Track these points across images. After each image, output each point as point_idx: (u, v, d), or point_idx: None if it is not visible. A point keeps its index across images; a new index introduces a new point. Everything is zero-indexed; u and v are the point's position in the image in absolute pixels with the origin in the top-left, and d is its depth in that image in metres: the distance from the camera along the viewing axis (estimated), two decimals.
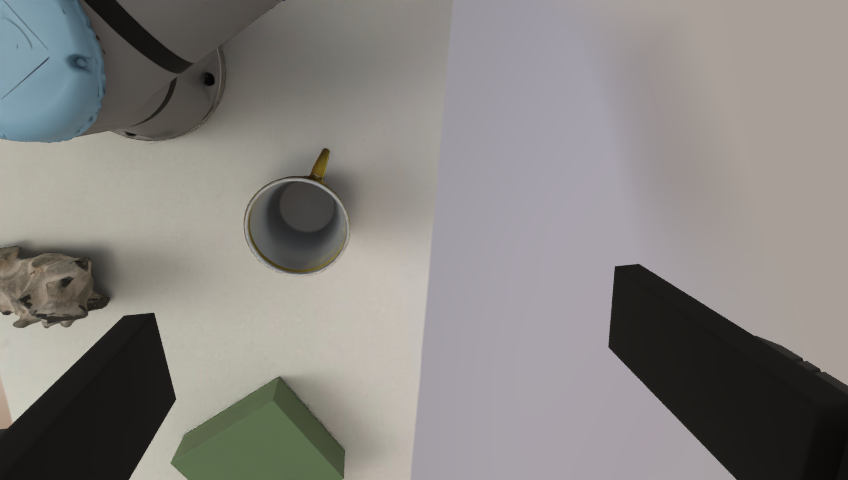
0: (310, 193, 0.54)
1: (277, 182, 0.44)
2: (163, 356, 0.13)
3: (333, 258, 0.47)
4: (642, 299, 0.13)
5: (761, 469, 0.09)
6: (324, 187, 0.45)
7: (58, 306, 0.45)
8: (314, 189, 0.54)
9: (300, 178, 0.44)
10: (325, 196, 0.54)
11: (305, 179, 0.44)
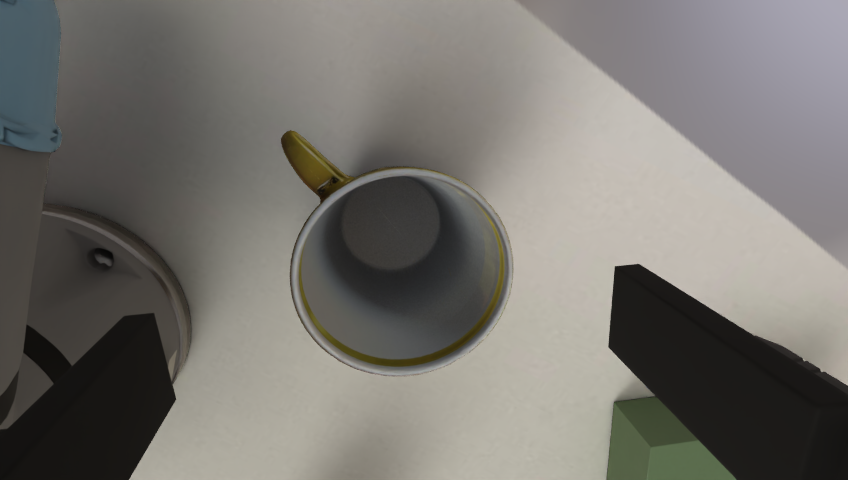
0: (373, 206, 0.29)
1: (295, 266, 0.20)
2: (163, 356, 0.13)
3: (501, 247, 0.22)
4: (642, 299, 0.13)
5: (761, 469, 0.09)
6: (352, 184, 0.19)
7: None
8: (370, 196, 0.29)
9: (309, 219, 0.20)
10: (391, 186, 0.29)
11: (316, 211, 0.20)
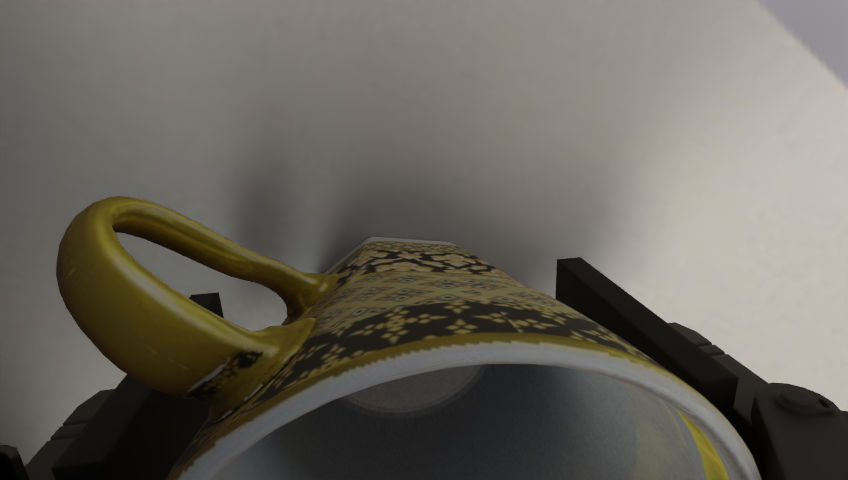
0: None
1: None
2: None
3: None
4: (577, 289, 0.13)
5: None
6: (294, 404, 0.05)
7: None
8: None
9: None
10: None
11: None
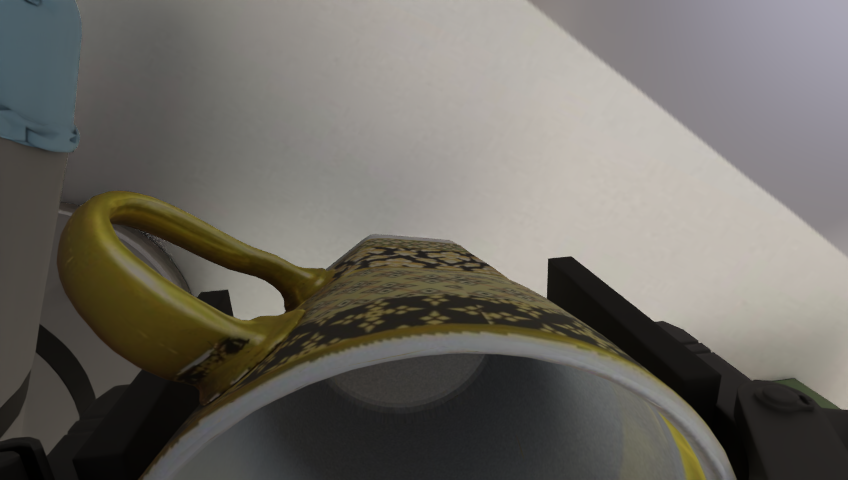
0: None
1: None
2: None
3: None
4: (567, 288, 0.13)
5: None
6: (272, 387, 0.06)
7: None
8: None
9: None
10: None
11: (156, 470, 0.06)
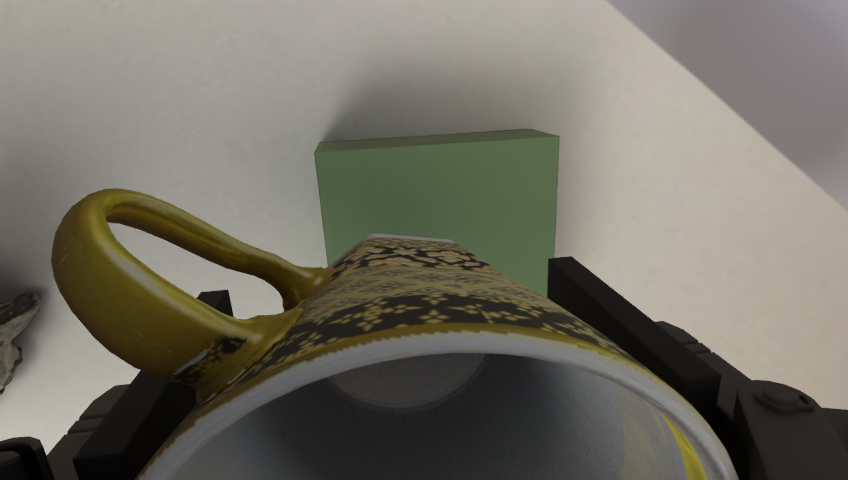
0: None
1: None
2: None
3: None
4: (568, 288, 0.13)
5: None
6: (269, 387, 0.06)
7: None
8: None
9: None
10: None
11: (151, 471, 0.06)
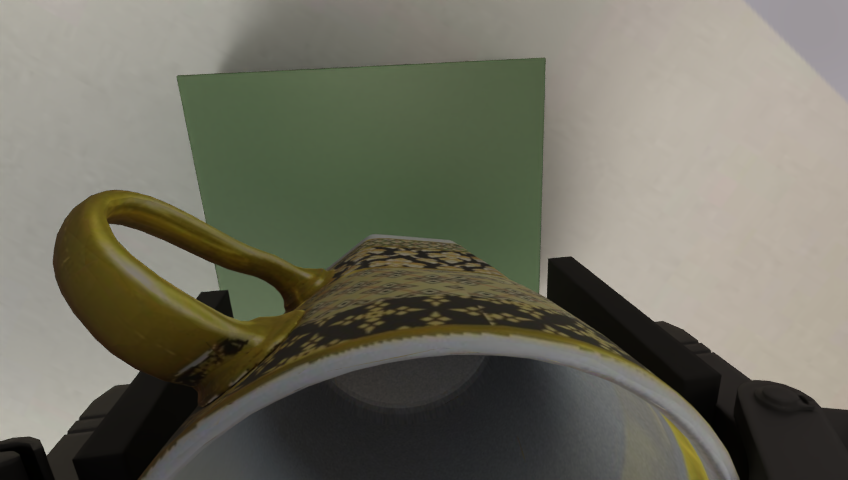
0: None
1: None
2: None
3: None
4: (567, 288, 0.13)
5: None
6: (271, 389, 0.06)
7: None
8: None
9: None
10: None
11: (153, 473, 0.06)
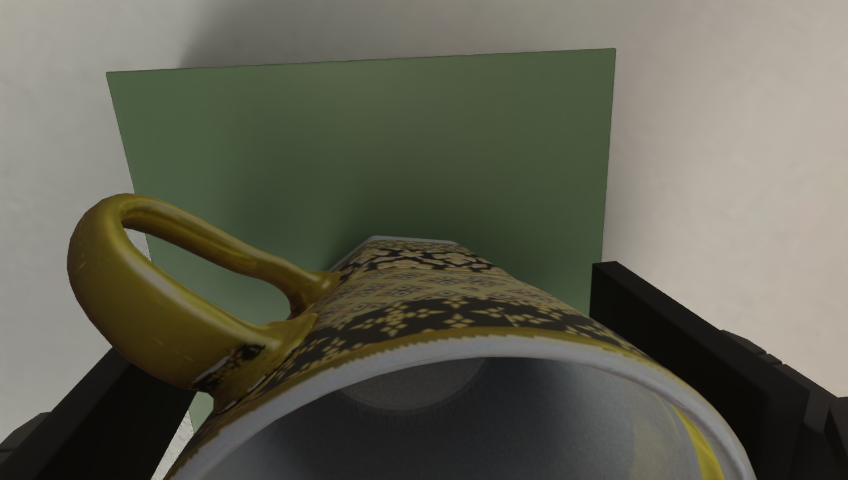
0: None
1: None
2: None
3: None
4: (617, 294, 0.13)
5: None
6: (295, 395, 0.06)
7: None
8: None
9: None
10: None
11: None
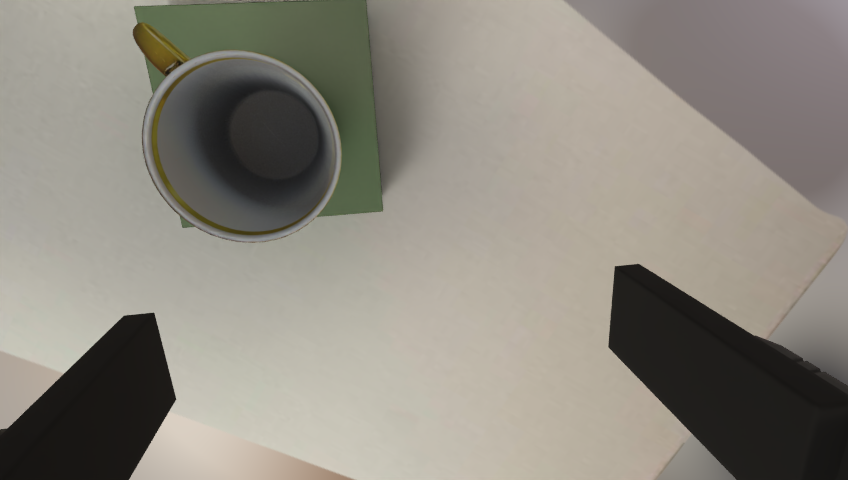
0: (258, 119, 0.33)
1: (145, 135, 0.24)
2: (163, 356, 0.13)
3: None
4: (642, 299, 0.13)
5: (761, 469, 0.09)
6: (188, 62, 0.23)
7: None
8: (254, 110, 0.33)
9: (154, 94, 0.23)
10: (272, 100, 0.33)
11: (159, 86, 0.23)
